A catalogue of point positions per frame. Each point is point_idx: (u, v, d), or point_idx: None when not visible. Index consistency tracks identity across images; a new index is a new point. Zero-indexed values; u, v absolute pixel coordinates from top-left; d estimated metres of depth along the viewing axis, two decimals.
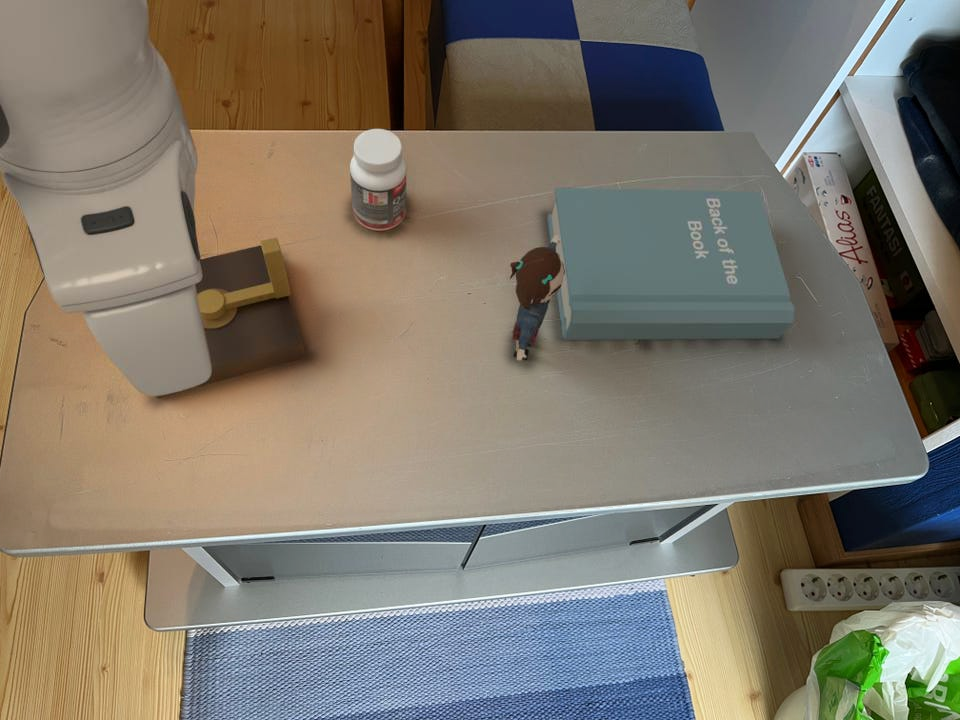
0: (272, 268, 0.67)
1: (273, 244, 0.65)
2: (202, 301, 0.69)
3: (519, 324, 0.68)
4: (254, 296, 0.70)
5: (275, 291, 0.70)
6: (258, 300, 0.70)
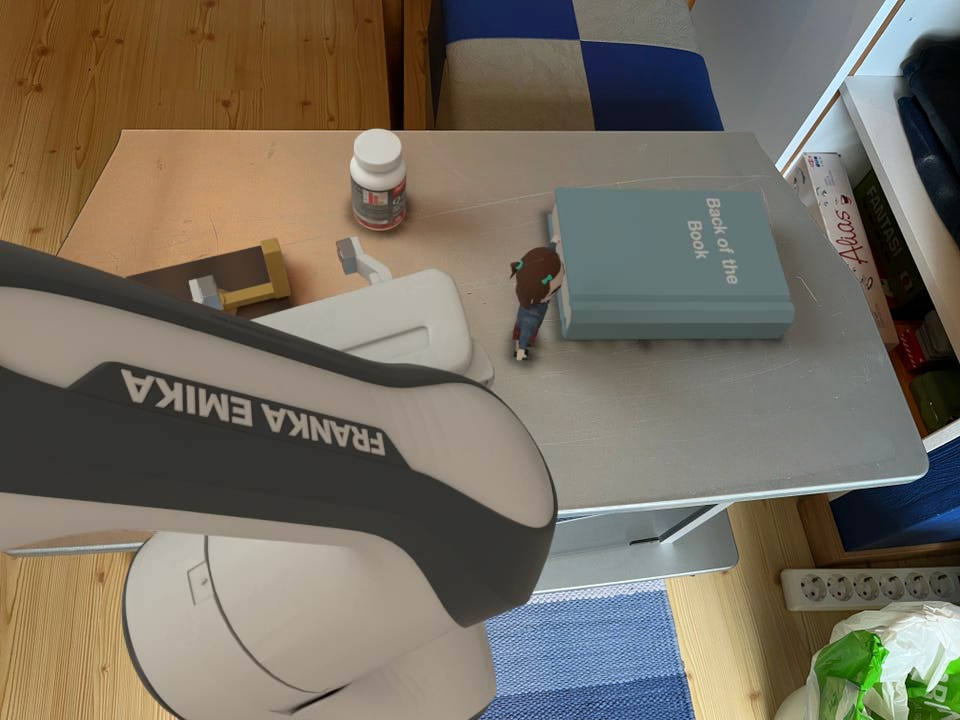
0: (272, 268, 0.67)
1: (273, 244, 0.65)
2: None
3: (519, 324, 0.68)
4: (254, 296, 0.70)
5: (275, 291, 0.70)
6: (258, 300, 0.70)
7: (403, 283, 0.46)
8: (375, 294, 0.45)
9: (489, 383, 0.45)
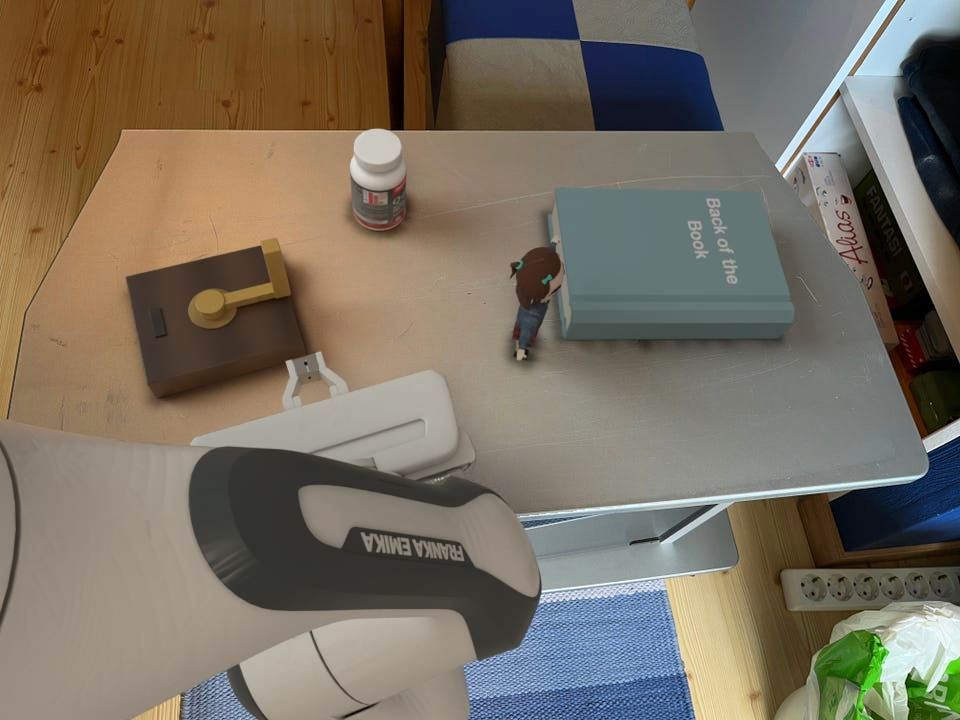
0: (272, 268, 0.67)
1: (273, 244, 0.65)
2: (202, 301, 0.69)
3: (519, 324, 0.68)
4: (254, 296, 0.70)
5: (275, 291, 0.70)
6: (258, 300, 0.70)
7: (406, 382, 0.58)
8: (383, 391, 0.57)
9: (471, 465, 0.57)
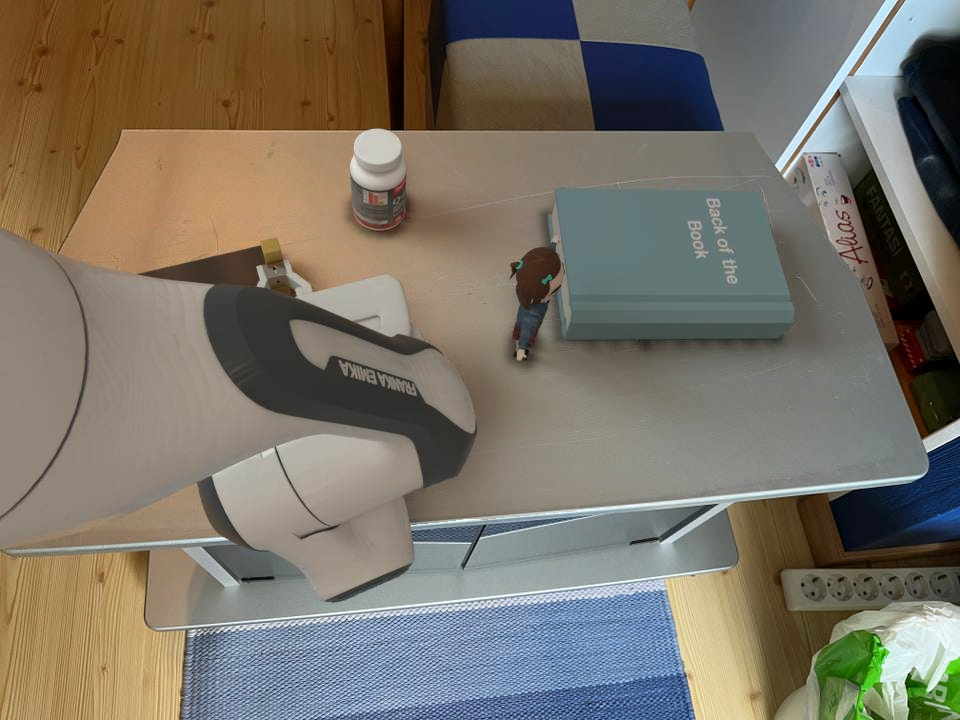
0: None
1: (273, 244, 0.65)
2: None
3: (519, 324, 0.68)
4: None
5: None
6: None
7: (364, 284, 0.64)
8: (344, 291, 0.64)
9: None
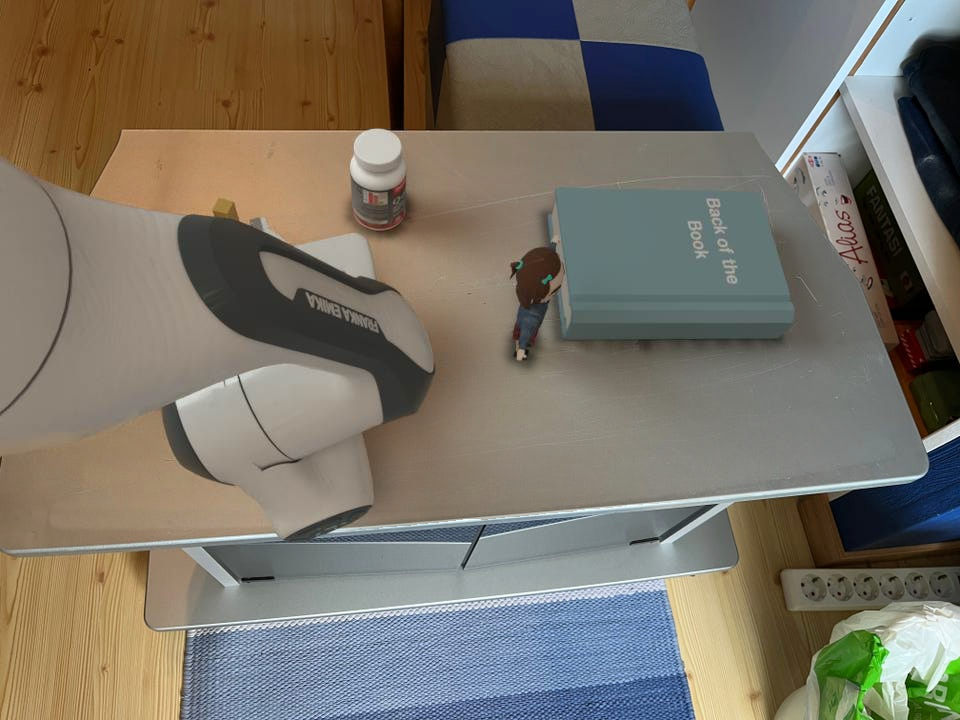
0: None
1: (223, 203, 0.67)
2: None
3: (519, 324, 0.68)
4: None
5: None
6: None
7: (331, 241, 0.66)
8: (311, 248, 0.65)
9: None
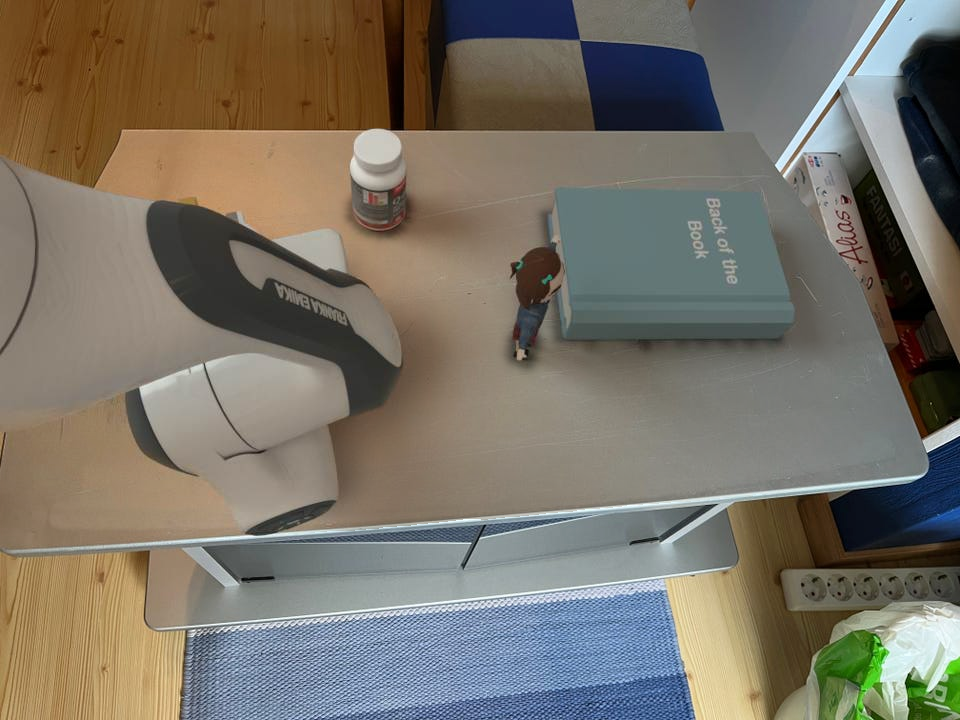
0: None
1: (186, 201, 0.66)
2: None
3: (519, 324, 0.68)
4: None
5: None
6: None
7: (304, 237, 0.66)
8: (283, 243, 0.65)
9: None
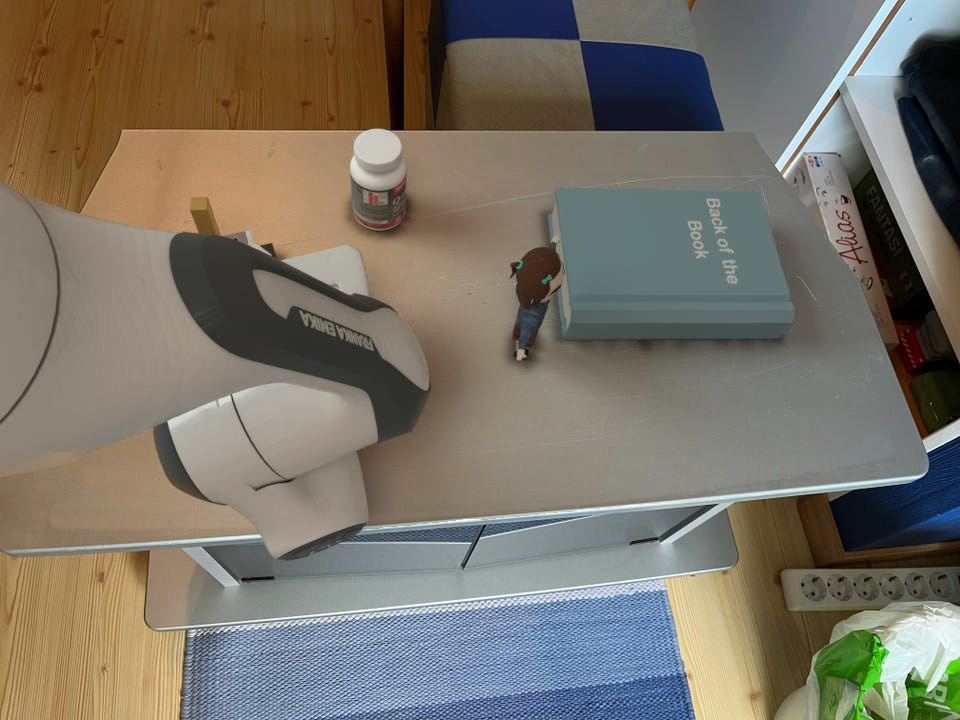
0: (212, 222, 0.68)
1: (198, 200, 0.66)
2: None
3: (519, 324, 0.68)
4: None
5: None
6: None
7: (324, 254, 0.65)
8: (304, 261, 0.65)
9: None
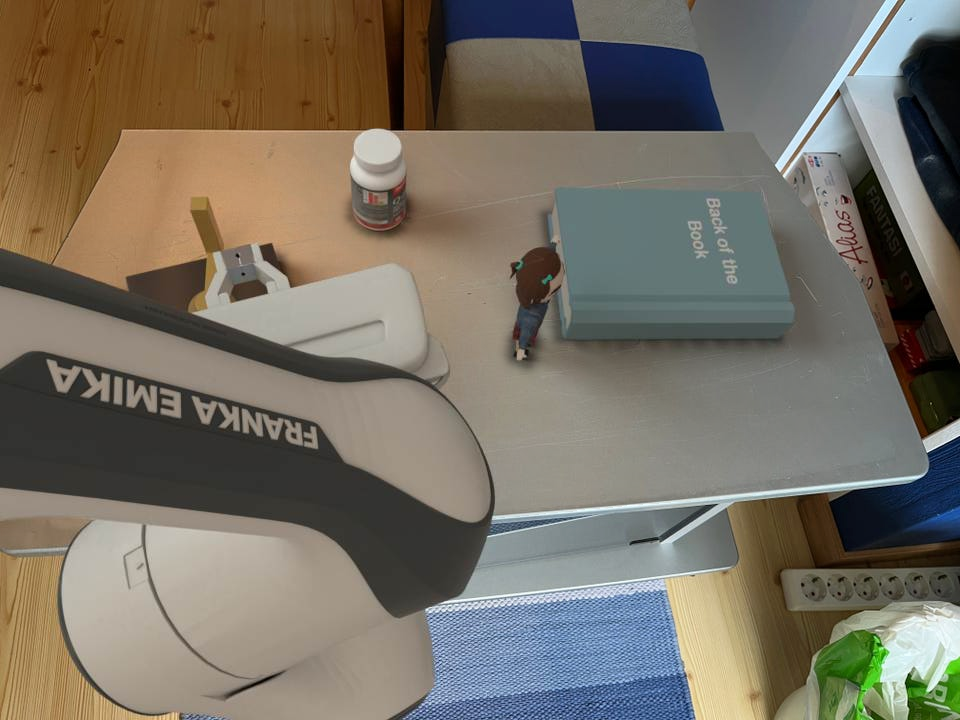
0: (212, 222, 0.68)
1: (198, 200, 0.66)
2: (207, 307, 0.68)
3: (519, 324, 0.68)
4: None
5: (221, 248, 0.71)
6: None
7: (362, 277, 0.46)
8: (333, 287, 0.46)
9: (444, 379, 0.45)
